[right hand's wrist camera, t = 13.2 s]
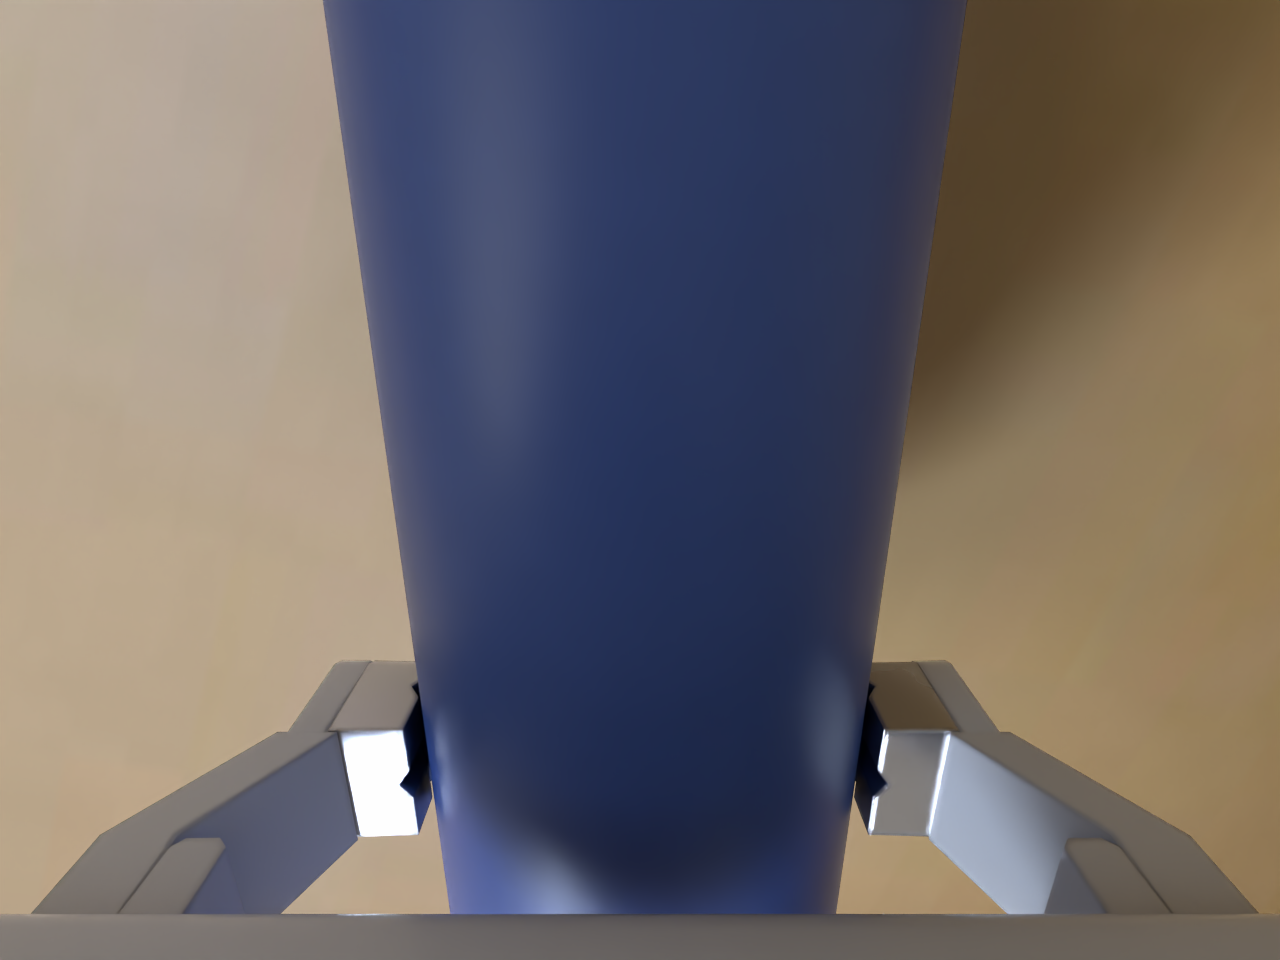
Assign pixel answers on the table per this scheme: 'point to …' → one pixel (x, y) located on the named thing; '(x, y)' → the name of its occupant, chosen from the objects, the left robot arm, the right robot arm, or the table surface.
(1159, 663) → the table surface
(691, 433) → the rod
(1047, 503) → the table surface
